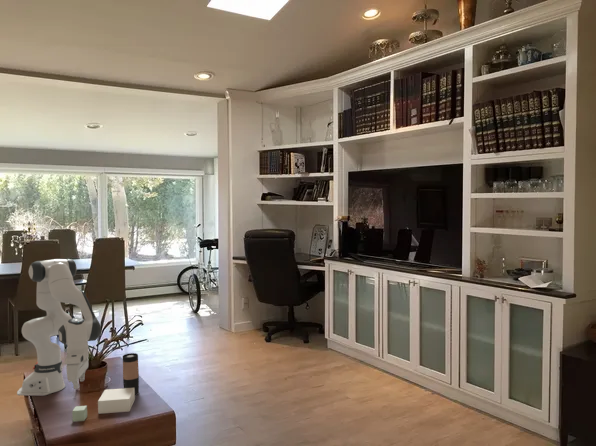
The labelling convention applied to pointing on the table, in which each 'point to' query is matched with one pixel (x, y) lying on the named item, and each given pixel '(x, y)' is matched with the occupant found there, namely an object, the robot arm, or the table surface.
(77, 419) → the sage cube
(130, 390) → the box
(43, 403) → the table surface
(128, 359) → the travel mug
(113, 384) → the table surface
